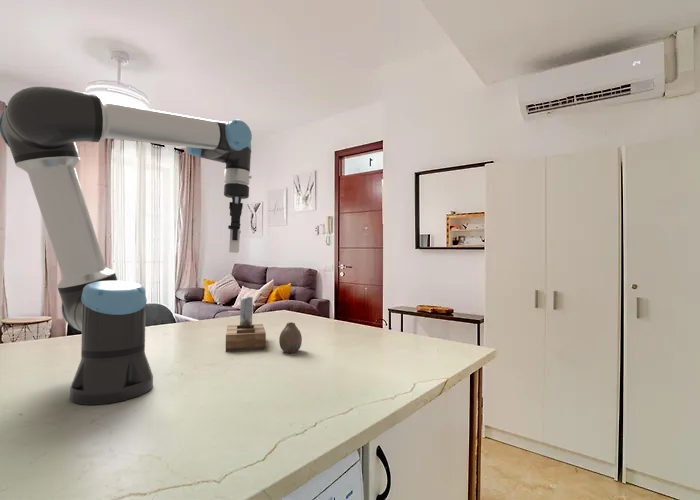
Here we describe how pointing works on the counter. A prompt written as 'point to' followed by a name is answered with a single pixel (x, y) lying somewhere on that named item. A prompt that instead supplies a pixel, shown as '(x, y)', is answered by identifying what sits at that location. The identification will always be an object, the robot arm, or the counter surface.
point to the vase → (290, 338)
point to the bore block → (245, 338)
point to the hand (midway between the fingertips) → (233, 252)
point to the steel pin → (246, 312)
